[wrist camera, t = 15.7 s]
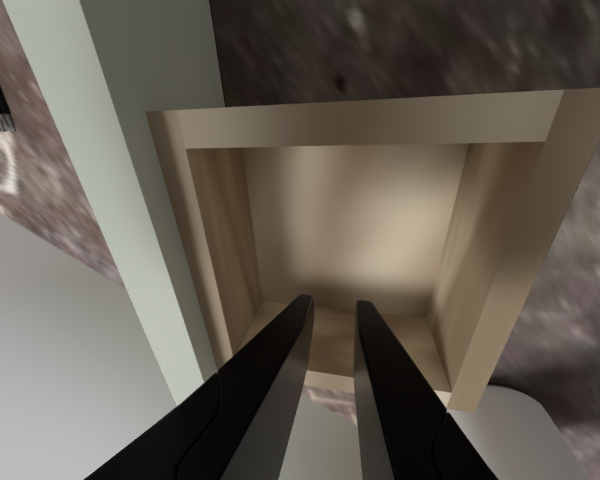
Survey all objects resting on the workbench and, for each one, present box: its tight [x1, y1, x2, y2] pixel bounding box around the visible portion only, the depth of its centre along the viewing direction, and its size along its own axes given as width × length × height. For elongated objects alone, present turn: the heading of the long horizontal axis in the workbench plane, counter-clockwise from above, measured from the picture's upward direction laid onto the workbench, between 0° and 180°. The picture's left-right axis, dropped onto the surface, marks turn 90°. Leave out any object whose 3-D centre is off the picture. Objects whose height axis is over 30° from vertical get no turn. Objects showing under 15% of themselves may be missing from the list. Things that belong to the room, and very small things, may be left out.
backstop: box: [3, 0, 225, 406], centre depth 11 cm, size 2×18×6 cm, turn 2°
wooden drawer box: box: [146, 88, 600, 413], centre depth 11 cm, size 11×11×5 cm
